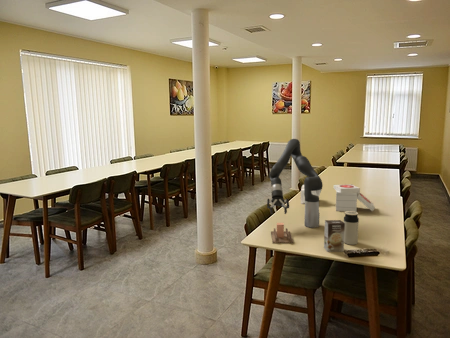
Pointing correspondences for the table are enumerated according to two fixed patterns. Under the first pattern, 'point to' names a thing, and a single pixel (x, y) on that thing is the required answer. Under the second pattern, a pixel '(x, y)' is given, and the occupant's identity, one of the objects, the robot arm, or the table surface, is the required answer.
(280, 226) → the terracotta block
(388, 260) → the table surface
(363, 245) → the table surface
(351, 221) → the travel mug
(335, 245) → the coffee box
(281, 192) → the robot arm
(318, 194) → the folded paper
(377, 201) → the table surface
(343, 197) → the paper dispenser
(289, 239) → the walnut rack
